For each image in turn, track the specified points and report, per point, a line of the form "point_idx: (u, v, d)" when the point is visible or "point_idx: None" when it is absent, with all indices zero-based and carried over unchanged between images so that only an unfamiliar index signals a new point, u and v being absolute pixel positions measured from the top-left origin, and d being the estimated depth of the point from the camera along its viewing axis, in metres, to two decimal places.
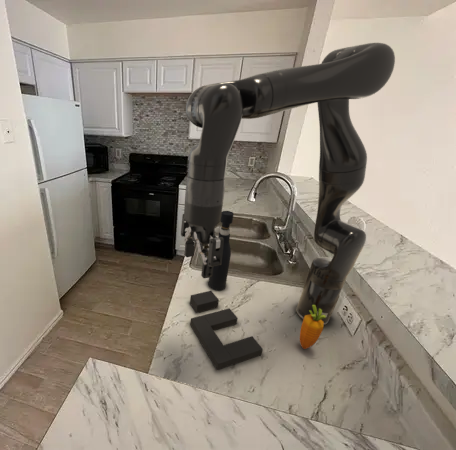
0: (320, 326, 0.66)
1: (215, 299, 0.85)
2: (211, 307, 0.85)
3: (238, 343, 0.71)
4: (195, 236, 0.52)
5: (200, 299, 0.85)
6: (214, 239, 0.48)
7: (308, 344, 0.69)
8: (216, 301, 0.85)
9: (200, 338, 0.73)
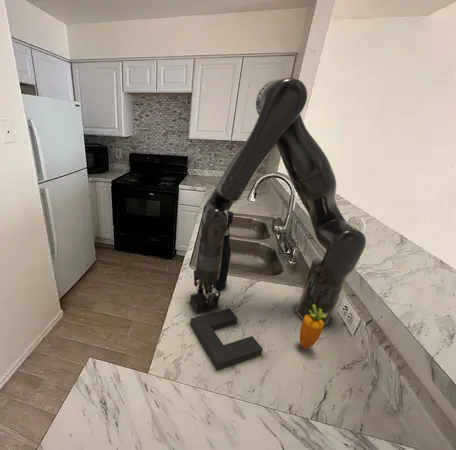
0: (320, 326, 0.66)
1: None
2: None
3: (238, 343, 0.71)
4: (203, 286, 0.81)
5: (200, 299, 0.85)
6: (215, 294, 0.77)
7: (308, 344, 0.69)
8: None
9: (200, 338, 0.73)
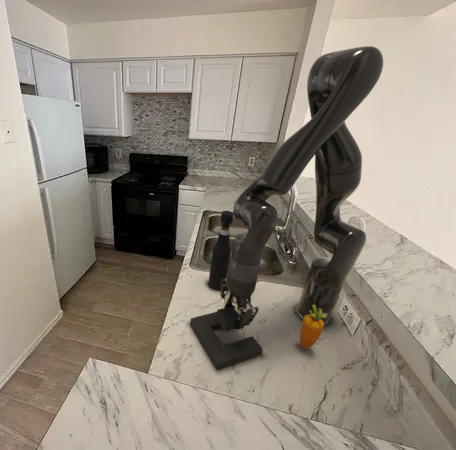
0: (320, 326, 0.66)
1: None
2: None
3: (238, 343, 0.71)
4: (235, 300, 0.67)
5: (229, 315, 0.70)
6: (251, 310, 0.63)
7: (308, 344, 0.69)
8: None
9: (200, 338, 0.73)
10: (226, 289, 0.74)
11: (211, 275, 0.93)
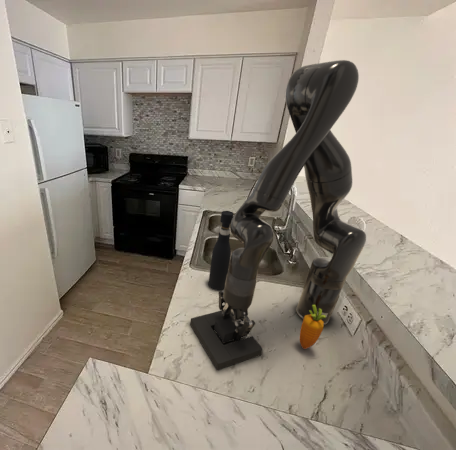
0: (320, 326, 0.66)
1: None
2: None
3: (238, 343, 0.71)
4: (232, 312, 0.69)
5: (227, 327, 0.72)
6: (248, 323, 0.65)
7: (308, 344, 0.69)
8: None
9: (200, 338, 0.73)
10: (224, 301, 0.76)
11: (211, 275, 0.93)
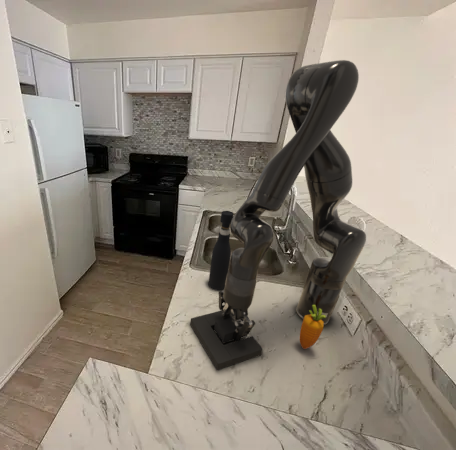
0: (320, 326, 0.66)
1: None
2: None
3: (238, 343, 0.71)
4: (232, 312, 0.69)
5: (227, 327, 0.72)
6: (248, 323, 0.65)
7: (308, 344, 0.69)
8: None
9: (200, 338, 0.73)
10: (224, 301, 0.76)
11: (211, 275, 0.93)
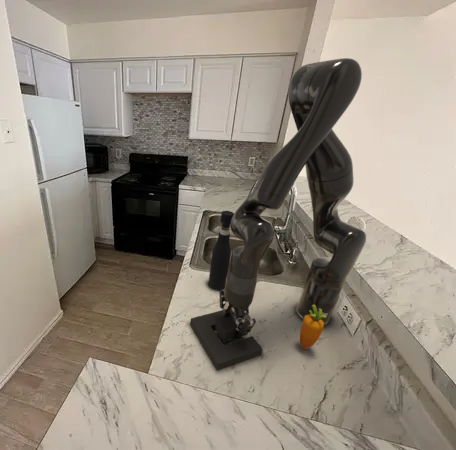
0: (320, 326, 0.66)
1: None
2: None
3: (238, 343, 0.71)
4: (233, 311, 0.68)
5: (227, 325, 0.72)
6: (249, 322, 0.64)
7: (308, 344, 0.69)
8: None
9: (200, 338, 0.73)
10: (225, 299, 0.75)
11: (211, 275, 0.93)
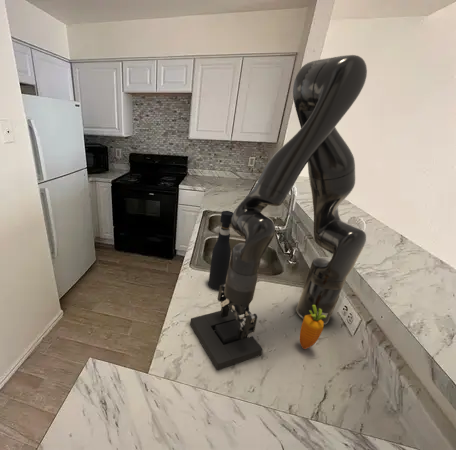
0: (320, 326, 0.66)
1: None
2: (240, 339, 0.73)
3: (238, 343, 0.71)
4: (233, 308, 0.68)
5: (227, 331, 0.73)
6: (250, 316, 0.64)
7: (308, 344, 0.69)
8: None
9: (200, 338, 0.73)
10: (224, 294, 0.75)
11: (211, 275, 0.93)
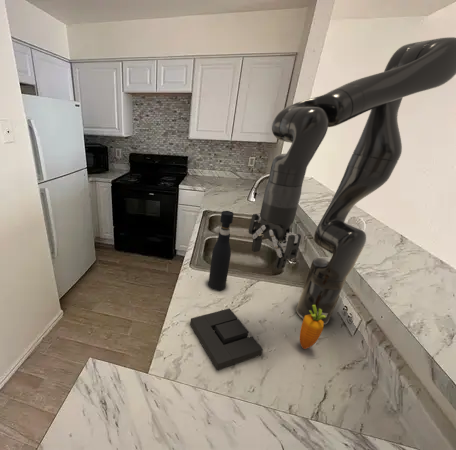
0: (320, 326, 0.66)
1: (245, 331, 0.73)
2: (240, 339, 0.73)
3: (238, 343, 0.71)
4: (271, 233, 0.61)
5: (227, 331, 0.73)
6: (293, 235, 0.56)
7: (308, 344, 0.69)
8: (246, 333, 0.73)
9: (200, 338, 0.73)
10: (256, 224, 0.68)
11: (211, 275, 0.93)
